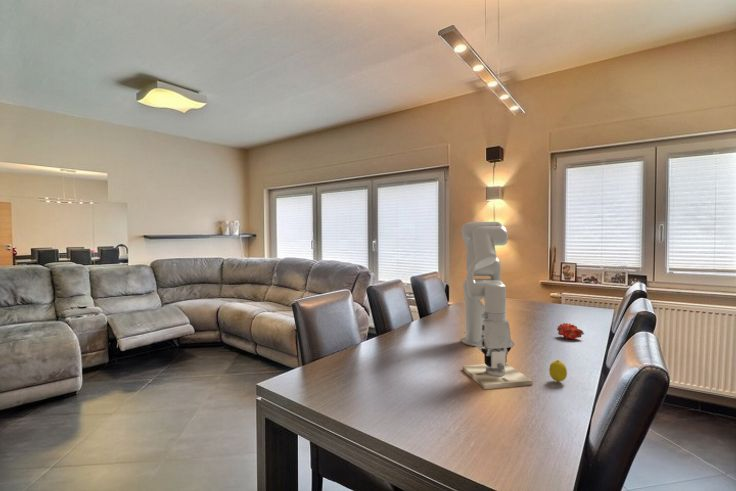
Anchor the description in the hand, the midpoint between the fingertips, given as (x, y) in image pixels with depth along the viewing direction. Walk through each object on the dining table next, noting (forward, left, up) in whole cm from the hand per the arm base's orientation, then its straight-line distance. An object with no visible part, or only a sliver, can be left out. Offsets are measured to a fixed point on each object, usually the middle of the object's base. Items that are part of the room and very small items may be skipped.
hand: (495, 364), depth 130 cm
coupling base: (0, 0, -5) cm, 5 cm away
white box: (+1, 0, 0) cm, 1 cm away
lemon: (+9, +19, -5) cm, 22 cm away
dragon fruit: (-36, +61, -5) cm, 71 cm away
